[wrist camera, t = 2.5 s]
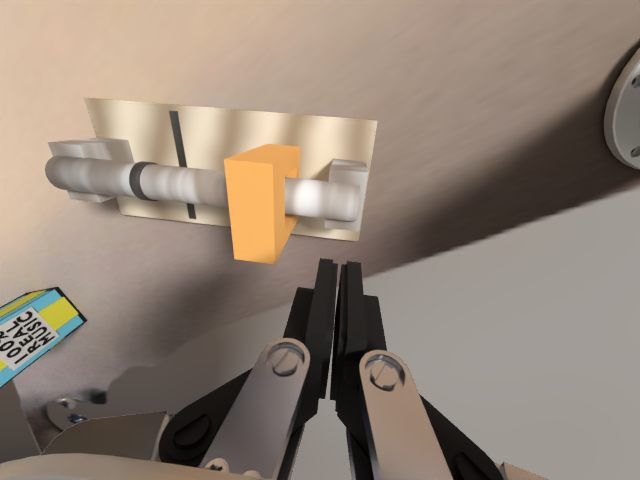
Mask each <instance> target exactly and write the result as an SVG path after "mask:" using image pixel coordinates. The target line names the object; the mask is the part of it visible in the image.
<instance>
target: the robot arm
mask: <svg viewBox="0 0 640 480" xmlns="http://www.w3.org/2000/svg"><path fill="white" fill-rule="evenodd" d="M604 135H605V139H606V142H607V145H608V147H609V149H610V150H611V152H612V153H613V155H614V156H615V157H616V158H617V159H618V160H620V161H621V162H622V163H623V164H625V165H628V166H630V167H632V168H634V169H638V170H640V48H639V49H638V50H637V51H636V53H635V54H634V55H633V57H632V58H631V59H630V61H629V62H628V63H627V65H626V66H625V67H624V69H623V71H622V72H621V74H620V76H619V78H618V79H617V81H616V83H615V85H614V87H613V89H612V92H611V94H610V97H609V100H608V102H607V106H606V111H605V116H604ZM337 268H338V264H335V263H333V260H330V259H321V258H320V262H319V267H318V272H317V278H316V283H315V288H314V289H309V288H300V287H298V288H297V291H296V294H295V298H294V301H293V305H292V308H291V312H290V315H289V318H288V322H287V325H286V329H285V332H284V336H283V338H282V339H277V340H275V341H273V342H271V343H270V344H268V345H267V346H266V347H265V348H264V350H263V351H262V352H261V354H260V356H259V358H258V360H257V362H256V364H255V365H254V367H253V368H252V369H250V370H248V371H247V372H245V373H243V374H241V375H240V376H238V377H236V378H235V379H233V380H231V381H229V382H228V383H226V384H224V385H223V386H221V387H219V388H218V389H216V390H214V391H212V392H211V393H209V394H207V395H206V396H204V397H202V398H200V399H199V400H197V401H195V402H193V403H192V404H190V405H188V406H187V407H185V408H184V409H182V410H181V411H180V412H178V413H177V414H169V415H168V413H167V411H162V412H153V413H143V414H134V415H124V416H115V417H105V418H96V419H89V420H86V421H82V422H79V423H77V424H75V425H73V426H71V427H70V428H67V429H66V430H65V431H63V432H62V433H61V434H60V435H58V436H57V437H56V438H55V439H54V440H53V441H52V442H51V443H50V444H49V445H48V446H47V448H46V449H45V450H44V451H43V453H42V454H41V455H40V456H33V457H28V458H23V459H19V460H14V461H9V462H5V463H3V464H0V480H290V479H291V475H292V472H293V468H294V464H295V460H296V457H297V453H298V449H299V446H300V443H301V439H302V435H303V432H304V428H305V423H306V422H307V421H308V420H309V419H310V418H312V417H313V416H314V415H315V414H316V413H317V409H318V400H319V398H321V399H325V394H326V386H327V379H328V372H329V363H330V356H331V349H332V340H333V330H334V341H333V358H332V374H331V389H330V390H331V391H330V400H335V401H336V409H335V411H336V412H337V413H338V414H337V416H338V417H339V419H340V420H341V421H342V422H343V424H344V425H345V426H346V437H347V445H348V453H349V461H350V469H351V477H352V480H548V479H546V478H543V477H540V476H538V475H536V474H533V473H531V472H528V471H525V470H523V469H520V468H518V467H515V466H513V465H510V464H508V463H505V462H503V463H502V464H501V465H499V464H497V463H494V462H493V461H492V460H491V459H490V458H489V457H488V456H487V455H486V453H485V452H483V451H482V450H481V449H480V448H479V447H478V446H477V445H476V444H474V442H472V441H471V440H470V439H469V438H468V437H467V436H466V435H465V434H463V433H462V432H461V431H460V430H459V429H458V428H457V427H455V425H453V424H452V423H451V422H450V421H449V420H448V419H447V418H446V417H444V416H443V415H442V414H441V413H440V412H439V411H438V410H437V409H436V408H434V407H433V406H432V405H431V404H430V403H429V402H428V401H427V400H425V399H424V398H423V397H422V396H421V395H420V394H419V393H418V390H417V388H416V385H415V383H414V380H413V378H412V375H411V373H410V371H409V369H408V367H407V365H406V364H405V363H404V362H403V361H402V360H401V359H400V358H399V357H397V356H396V355H394V354H393V353H390V352H388V351H387V348H386V342H385V336H384V330H383V324H382V318H381V312H380V306H379V301H378V297H377V296H368V295H363V284H362V273H361V263H358V262H349V261H347V265H344V264H342V266H341V274H340V282H339V290H338V297H337V305H336V314H335V298H336V284H337ZM334 315H335V324H334Z"/></svg>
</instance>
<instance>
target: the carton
mask: <svg viewBox="0 0 640 480" xmlns="http://www.w3.org/2000/svg"><path fill="white" fill-rule="evenodd" d="M86 321H87V319H86V318H85V317H84V316H83V315H82V314H81V313H80V311H79V310H78V309H77V308H76V307H75V306H74V305H73V303H72V302H71V301H70V300H69V299H68V298H67V297H66V295H65V294H64V293H63V292H62V291H61V290H60V289H59V287H54V288H49V289H44V290H39V291H34V292H29V293H25V294H24V295H22V296H20V297H18V298H16V299H14V300H13V301H11V302H9V303H7V304H5V305H4V306H2V307H0V388H1V387H3V386H4V385H5V384H6V383H8V382H9V381H10V380H12V379H13V378H14V377H15V376H17V375H18V374H19V373H21V372H22V371H23V370H24V369H26V368H27V367H28V366H30V365H31V364H32V363H33V362H35V361H36V360H37V359H39V358H40V357H41V356H42V355H44V354H45V353H46V352H47V351H49V350H50V349H51V348H53V347H54V346H55V345H56V344H58V343H59V342H60V341H62V340H63V339H64V338H65V337H67V336H68V335H69V334H71V333H72V332H73V331H74V330H76V329H77V328H78V327H80V326H81V325H82V324H83V323H85V322H86Z"/></svg>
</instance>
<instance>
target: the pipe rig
mask: <svg viewBox="0 0 640 480" xmlns="http://www.w3.org/2000/svg"><path fill="white" fill-rule="evenodd" d="M84 100H85V103H86V106H87V110H88V113H89V116H90V119H91V122H92V125H93V128H94V131H95V134H96V137H97V138H90V139H80V140H69V141H59V142H48V144H49V147H50V149H51V152H52V154H53V156H54V157H52V158H51V159H50V160H49V161H48V162H47V164H46V167H45V172H46V176H47V178H48V180H49V181H50V182H51V183H52V184H53V185H54V186H55V187H57V188H59V189H63V190H68V193H69V195H70V198H71V199H73V200H82V201H91V202H100V203H101V202H104V201H107V200H109V199H112V198H115V197H116V199H117V202H118V205H119V208H120V212H121V214H123V215H132V216H141V217H149V218H158V219H167V220H176V221H184V222H193V223H202V224H210V225H219V226H228V227H231V222H230V213H229V204H228V194H227V185H226V176H225V166H224V159H226V158H229V157H232V156H235V155H237V154H240V153H243V152H246V151H249V150H251V149H254V148H257V147H260V146H263V145H265V144H276V145H287V146H299V147H300V174H299V178H289V177H285V214H290V215H298V221H297V222H296V224H295V226H294V228H293V230H292V232H291V234H297V235H306V236H315V237H323V238H332V239H341V240H349V241H359V234H360V228H361V222H362V215H363V209H364V203H365V196H366V190H367V184H368V177H369V171H370V165H371V158H372V152H373V146H374V139H375V133H376V127H377V121H376V120H363V119H350V118H337V117H325V116H312V115H299V114H286V113H274V112H261V111H248V110H235V109H223V108H210V107H197V106H184V105H172V104H159V103H146V102H133V101H120V100H108V99H95V98H84Z"/></svg>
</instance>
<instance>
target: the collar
mask: <svg viewBox="0 0 640 480" xmlns="http://www.w3.org/2000/svg"><path fill="white" fill-rule="evenodd" d="M224 166H225V176H226V185H227V194H228V204H229V213H230V222H231V231H232V241H233V250H234V259H238V260H246V261H254V262H262V263H270V264H275V263H276V261H277V259H278V257H279V255H280V253H281V251H282V249H283V248H284V246H285V244H286V242H287V240H288V238H289V236H290V234H291V232H292V230H293V228H294V226H295V224H296V222H297V221H298V215H290V214H285V177H289V178H299V174H300V147H299V146H287V145H276V144H265V145H263V146H260V147H257V148H254V149H251V150H249V151H246V152H243V153H240V154H237V155H235V156H232V157H229V158H226V159H224Z"/></svg>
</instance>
